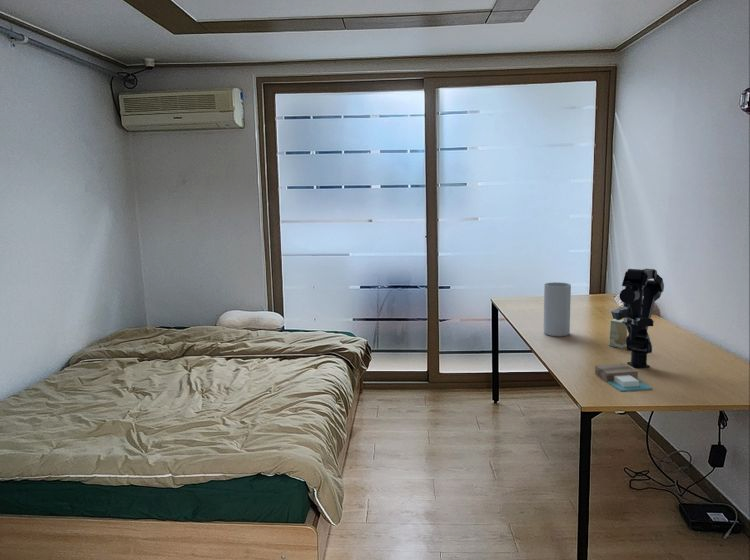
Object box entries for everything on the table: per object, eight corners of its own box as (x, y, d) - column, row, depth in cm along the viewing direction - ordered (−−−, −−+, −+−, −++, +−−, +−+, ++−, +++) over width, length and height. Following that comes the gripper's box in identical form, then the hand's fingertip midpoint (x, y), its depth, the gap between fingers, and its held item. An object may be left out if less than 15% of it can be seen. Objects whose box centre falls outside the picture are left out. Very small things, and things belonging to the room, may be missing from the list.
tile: (613, 380, 223) (614, 375, 223) (629, 379, 224) (629, 374, 223) (623, 386, 216) (623, 381, 216) (638, 386, 217) (639, 380, 216)
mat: (607, 382, 223) (607, 381, 223) (637, 380, 224) (638, 379, 224) (620, 391, 213) (620, 390, 213) (652, 389, 214) (652, 388, 214)
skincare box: (608, 345, 271) (609, 320, 269) (613, 344, 274) (614, 318, 272) (622, 348, 266) (623, 322, 264) (627, 346, 269) (628, 320, 267)
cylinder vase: (572, 336, 288) (574, 286, 284) (547, 337, 289) (548, 287, 285) (565, 330, 301) (566, 282, 297) (540, 330, 301) (541, 282, 297)
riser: (594, 374, 233) (595, 365, 232) (623, 372, 234) (624, 363, 233) (607, 382, 223) (607, 373, 223) (637, 380, 224) (637, 371, 224)
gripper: (603, 297, 239) (601, 335, 240) (627, 304, 220) (624, 345, 222) (629, 297, 240) (627, 335, 241) (655, 304, 221) (652, 345, 223)
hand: (632, 340), depth 232 cm, fingers closed
